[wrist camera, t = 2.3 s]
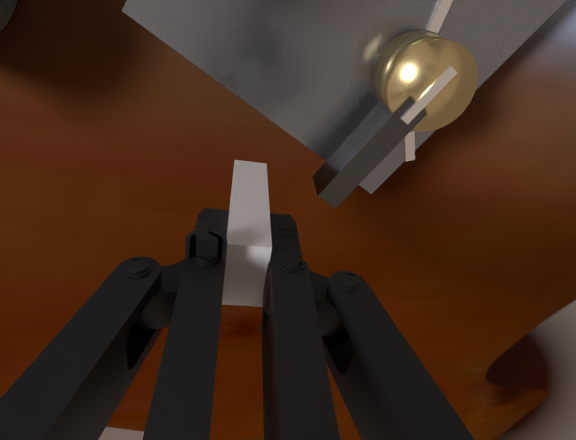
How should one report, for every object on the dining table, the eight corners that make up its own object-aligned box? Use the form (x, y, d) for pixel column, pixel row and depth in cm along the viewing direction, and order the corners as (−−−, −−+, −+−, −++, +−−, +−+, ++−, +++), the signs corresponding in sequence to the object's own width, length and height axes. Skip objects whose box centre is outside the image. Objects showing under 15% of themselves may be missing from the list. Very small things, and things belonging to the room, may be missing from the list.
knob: (415, 11, 19) (442, 18, 17) (465, 66, 21) (497, 81, 18) (292, 157, 24) (297, 183, 21) (343, 193, 25) (354, 221, 22)
